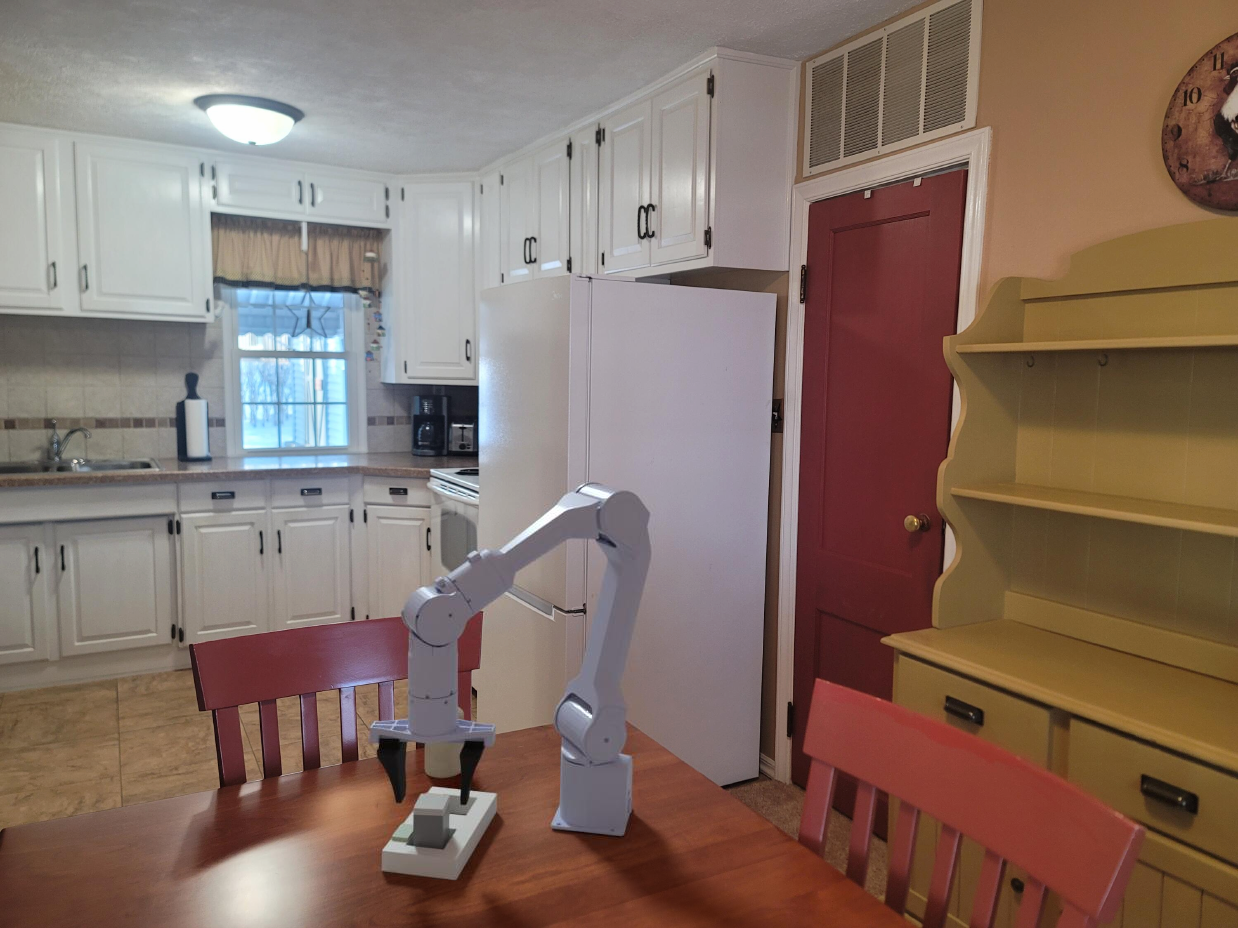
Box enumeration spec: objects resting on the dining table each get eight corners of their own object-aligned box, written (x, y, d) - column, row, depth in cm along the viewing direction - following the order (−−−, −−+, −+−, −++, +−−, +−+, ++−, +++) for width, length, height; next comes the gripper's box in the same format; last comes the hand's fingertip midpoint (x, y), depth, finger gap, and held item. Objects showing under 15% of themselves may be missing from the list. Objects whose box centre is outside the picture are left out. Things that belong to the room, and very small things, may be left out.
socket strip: (496, 811, 115) (497, 790, 115) (456, 879, 100) (456, 856, 99) (432, 804, 117) (432, 783, 116) (381, 870, 101) (382, 847, 101)
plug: (448, 849, 106) (449, 794, 105) (442, 865, 102) (443, 809, 102) (420, 848, 106) (421, 793, 105) (412, 864, 103) (413, 807, 102)
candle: (454, 780, 124) (455, 712, 123) (418, 775, 125) (418, 708, 124) (468, 763, 129) (469, 698, 128) (434, 759, 130) (434, 695, 129)
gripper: (499, 679, 106) (498, 785, 107) (381, 676, 106) (381, 782, 108) (490, 701, 99) (489, 814, 100) (363, 698, 99) (364, 810, 101)
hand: (432, 799), depth 104 cm, fingers open, 7 cm apart
